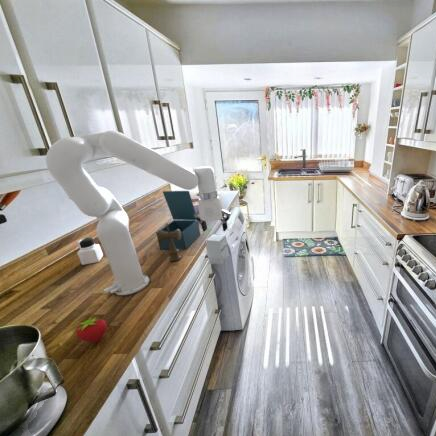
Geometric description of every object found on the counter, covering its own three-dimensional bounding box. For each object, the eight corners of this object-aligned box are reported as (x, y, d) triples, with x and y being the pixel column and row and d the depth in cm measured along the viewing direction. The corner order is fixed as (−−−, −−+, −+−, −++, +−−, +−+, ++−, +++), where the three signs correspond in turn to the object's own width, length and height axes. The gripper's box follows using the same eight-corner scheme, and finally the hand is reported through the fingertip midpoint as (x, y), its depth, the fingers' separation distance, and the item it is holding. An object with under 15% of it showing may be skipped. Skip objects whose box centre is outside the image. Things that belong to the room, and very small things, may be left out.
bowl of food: (177, 217, 177) (173, 202, 173) (203, 210, 189) (200, 196, 185) (186, 224, 163) (183, 208, 159) (214, 217, 175) (211, 202, 171)
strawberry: (108, 346, 73) (97, 321, 69) (78, 353, 71) (66, 328, 67) (115, 331, 78) (105, 307, 74) (87, 337, 76) (76, 313, 72)
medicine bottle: (103, 255, 126) (96, 235, 122) (99, 262, 120) (90, 240, 116) (87, 258, 124) (79, 237, 120) (81, 265, 118) (72, 243, 113)
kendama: (168, 257, 122) (158, 221, 115) (187, 255, 123) (179, 220, 116) (163, 263, 117) (153, 226, 110) (183, 262, 117) (174, 224, 110)
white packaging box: (222, 265, 114) (219, 241, 109) (208, 263, 115) (204, 240, 110) (229, 257, 120) (226, 234, 116) (216, 256, 122) (212, 233, 117)
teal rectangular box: (186, 249, 130) (182, 232, 126) (160, 248, 131) (155, 232, 128) (200, 234, 147) (197, 219, 143) (177, 234, 148) (173, 219, 144)
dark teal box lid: (188, 191, 132) (192, 187, 136) (162, 191, 133) (167, 187, 138) (197, 219, 143) (200, 215, 147) (173, 219, 144) (177, 215, 148)
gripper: (186, 198, 103) (193, 233, 109) (224, 197, 101) (230, 233, 108) (193, 193, 110) (200, 227, 116) (230, 192, 108) (235, 226, 115)
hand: (215, 230), depth 112 cm, fingers open, 9 cm apart
